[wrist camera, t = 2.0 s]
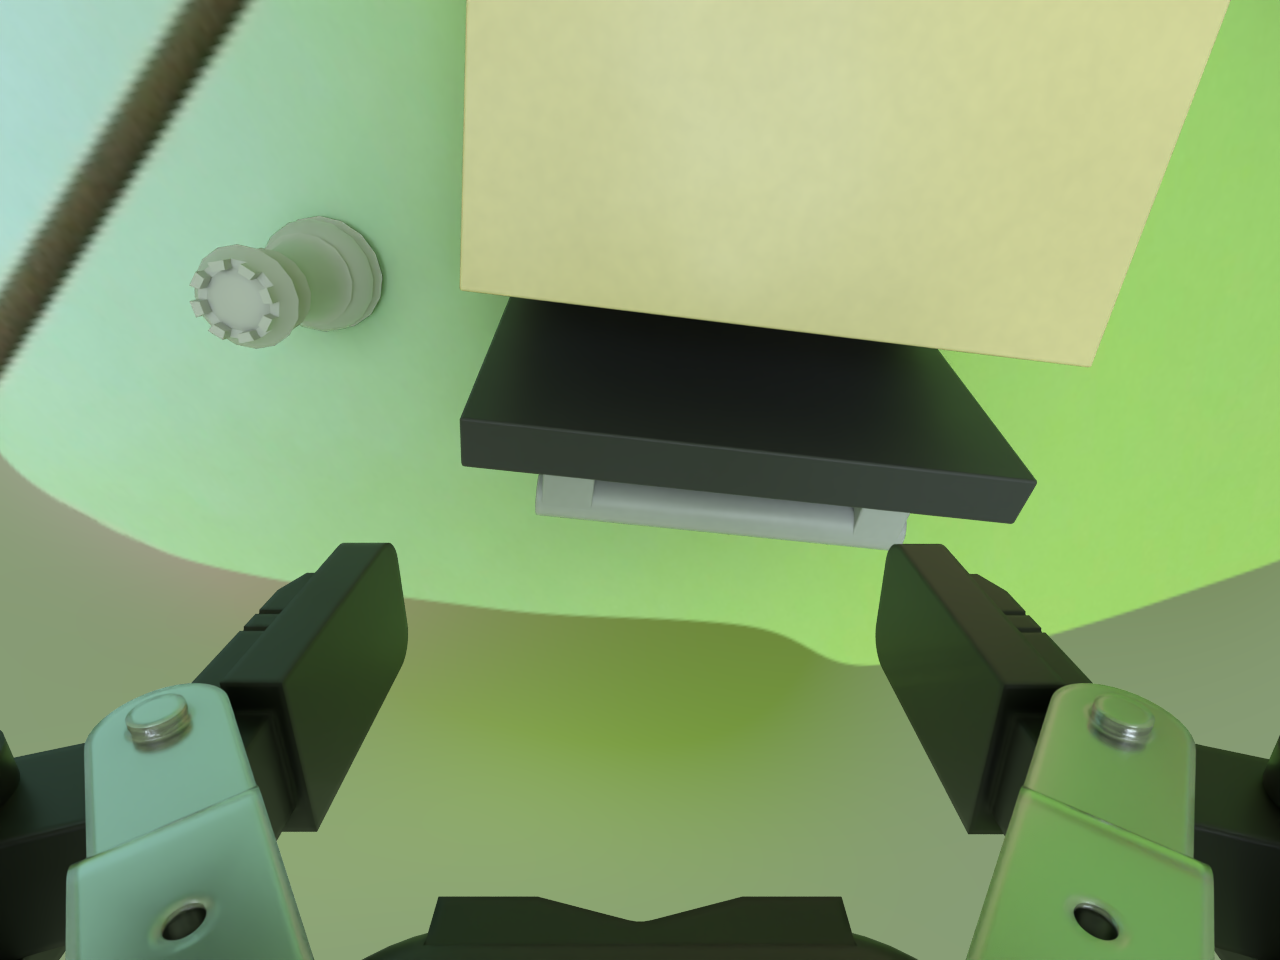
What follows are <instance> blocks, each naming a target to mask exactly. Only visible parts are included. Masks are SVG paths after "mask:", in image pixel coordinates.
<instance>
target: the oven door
mask: <svg viewBox="0 0 1280 960" xmlns="http://www.w3.org/2000/svg"><path fill="white" fill-rule="evenodd" d="M460 438H461V463H462V465H463V466H467V467H476V468H486V469H495V470H505V471H514V472H524V473H533V474H539V476H538V482H537V490H536V502H535V513H536V514H537V515H544V516H554V517H563V518H573V519H583V520H593V521H603V522H613V523H623V524H633V525H642V526H652V527H662V528H672V529H682V530H692V531H702V532H712V533H721V534H731V535H741V536H751V537H761V538H771V539H781V540H791V541H800V542H810V543H820V544H830V545H840V546H850V547H860V548H870V549H879V550H889V549H890V547H891V546H892V545H893V544H902V543H903V541H904V538H905V534H906V520H907V518H908V516H909V514H910V513H913V514H923V515H932V516H942V517H951V518H961V519H970V520H980V521H989V522H999V523H1008V524H1012V523H1014V522H1015V520H1016V518H1017V516H1018V515H1019V513H1020V511H1021V510H1022V508H1023V506H1024V505H1025V503H1026V501H1027V499H1028V498H1029V496H1030V494H1031V493H1032V491H1033V489H1034V488H1035V486H1036V484H1037V481H1036V479H1035V478H1034V477H1033V475H1032V474H1031V473H1030V471H1029V470H1028V469H1027V467H1026V466H1025V465H1024V463H1023V462H1022V461H1021V459H1020V458H1019V457H1018V455H1017V454H1016V453H1015V451H1014V450H1013V449H1012V447H1011V446H1010V445H1009V443H1008V442H1007V441H1006V439H1005V438H1004V437H1003V435H1002V434H1001V433H1000V431H999V430H998V429H997V427H996V426H995V425H994V423H993V422H992V421H991V419H990V418H989V417H988V415H987V414H986V413H985V411H984V410H983V409H982V407H981V406H980V405H979V403H978V402H977V401H976V400H975V398H974V397H973V396H972V394H971V393H970V392H969V390H968V389H967V388H966V386H965V385H964V384H963V382H962V381H961V380H960V378H959V377H958V376H957V374H956V373H955V372H954V370H953V369H952V368H951V366H950V365H949V364H948V362H947V361H946V360H945V358H944V357H943V356H942V354H941V353H940V352H939V350H938V349H935V348H926V347H918V346H910V345H902V344H894V343H886V342H877V341H869V340H861V339H853V338H845V337H837V336H828V335H820V334H812V333H804V332H796V331H788V330H779V329H771V328H763V327H755V326H747V325H739V324H730V323H722V322H714V321H706V320H698V319H690V318H681V317H673V316H665V315H657V314H649V313H640V312H632V311H624V310H616V309H608V308H600V307H591V306H583V305H575V304H567V303H559V302H551V301H542V300H534V299H526V298H518V297H510V298H509V301H508V303H507V306H506V308H505V310H504V313H503V315H502V318H501V320H500V323H499V325H498V328H497V330H496V332H495V335H494V337H493V340H492V342H491V345H490V347H489V349H488V352H487V354H486V357H485V359H484V362H483V364H482V367H481V369H480V371H479V374H478V376H477V379H476V381H475V384H474V386H473V389H472V391H471V393H470V396H469V398H468V401H467V403H466V406H465V408H464V410H463V413H462V415H461V418H460Z"/></svg>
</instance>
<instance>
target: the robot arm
mask: <svg viewBox="0 0 1280 960" xmlns="http://www.w3.org/2000/svg"><path fill="white" fill-rule="evenodd" d="M407 642H408V626H407V618H406V612H405V605H404V598H403V591H402V584H401V578H400V571H399V564H398V558H397V553H396V550H395V548H394V546H393V545H392V544H391V543H342V544H340V545H339V546H338V547H337V548H336V549H335V551H334V552H333V553H332V554H331V555H330V556H329V557H328V559H327V560H326V561H325V562H324V563H323V564H322V565H321V567H320V568H319V569H318V570H317V571H316V572H315V573H306V574H304V575H303V576H301V577H299V578H297V579H296V580H294V581H292V582H291V583H289V584H287V585H286V586H284V587H282V588H280V589H279V590H277V592H276V593H275V594H274V595H273V596H272V597H271V598H270V599H269V600H268V601H267V602H266V603H265V604H264V606H263V607H262V608H261V609H260V610H259V614H255V615H254V616H253V617H252V618H251V619H250V621H249V622H248V623H247V624H246V625H245V626H244V631H239V632H238V633H237V635H236V636H235V637H234V638H233V639H232V640H231V641H230V642H229V643H228V644H227V645H226V646H225V648H224V649H223V650H222V651H221V652H220V653H219V654H218V655H217V656H216V657H215V658H214V659H213V660H212V661H211V663H210V664H209V665H208V666H207V667H206V668H205V669H204V670H203V671H202V672H201V673H200V674H199V675H198V677H197V678H196V679H195V680H194V681H193V682H192V683H188V684H180V685H174V686H170V687H165V688H162V689H159V690H155V691H152V692H150V693H147V694H145V695H142V696H140V697H138V698H135V699H133V700H131V701H129V702H127V703H126V704H124V705H122V706H120V707H119V708H117V709H116V710H114V711H113V712H111V713H110V714H109V715H107V716H106V717H105V718H104V719H102V720H101V721H100V722H99V723H98V724H97V725H96V726H95V727H94V729H93V730H92V731H91V733H90V734H89V735H88V738H87V740H86V742H85V743H82V744H78V745H73V746H68V747H63V748H58V749H54V750H49V751H44V752H39V753H34V754H30V755H25V756H20V757H15V758H14V757H13V755H12V753H11V751H10V748H9V746H8V744H7V742H6V739H5V737H4V734H3V732H2V731H1V730H0V960H59V959H60V958H61V956H62V955H63V954H64V952H65V951H66V960H314V958H313V954H312V951H311V948H310V945H309V942H308V939H307V936H306V933H305V930H304V926H303V923H302V920H301V917H300V914H299V911H298V908H297V904H296V901H295V898H294V895H293V892H292V889H291V886H290V882H289V879H288V876H287V873H286V870H285V867H284V864H283V861H282V857H281V854H280V851H279V848H278V845H277V842H276V841H277V839H278V837H279V836H280V834H281V832H317V831H318V829H319V827H320V825H321V823H322V821H323V819H324V817H325V815H326V813H327V811H328V809H329V807H330V805H331V803H332V801H333V799H334V797H335V795H336V794H337V792H338V790H339V788H340V786H341V784H342V782H343V780H344V778H345V776H346V774H347V772H348V770H349V768H350V766H351V764H352V762H353V760H354V758H355V756H356V754H357V752H358V751H359V748H360V747H361V745H362V743H363V741H364V739H365V737H366V735H367V733H368V731H369V729H370V727H371V725H372V723H373V721H374V719H375V717H376V715H377V713H378V711H379V709H380V708H381V706H382V704H383V702H384V700H385V698H386V696H387V694H388V692H389V690H390V688H391V686H392V684H393V682H394V680H395V678H396V676H397V674H398V672H399V670H400V668H401V666H402V664H403V662H404V659H405V655H406V650H407ZM876 648H877V654H878V658H879V661H880V664H881V666H882V669H883V670H884V672H885V674H886V676H887V678H888V680H889V682H890V684H891V686H892V688H893V690H894V692H895V694H896V695H897V698H898V699H899V701H900V703H901V705H902V707H903V709H904V711H905V713H906V715H907V717H908V719H909V721H910V723H911V725H912V726H913V728H914V730H915V732H916V734H917V736H918V738H919V740H920V742H921V744H922V746H923V748H924V750H925V752H926V753H927V755H928V757H929V759H930V761H931V763H932V765H933V767H934V769H935V771H936V773H937V775H938V777H939V779H940V781H941V782H942V784H943V786H944V788H945V790H946V792H947V794H948V796H949V798H950V800H951V802H952V804H953V806H954V808H955V809H956V811H957V813H958V815H959V817H960V819H961V821H962V823H963V825H964V827H965V829H966V831H967V833H968V834H1004V835H1005V839H1004V842H1003V845H1002V848H1001V851H1000V854H999V857H998V861H997V864H996V867H995V870H994V873H993V876H992V879H991V882H990V886H989V889H988V892H987V895H986V898H985V901H984V904H983V908H982V911H981V914H980V917H979V920H978V923H977V926H976V929H975V933H974V936H973V939H972V942H971V945H970V948H969V952H968V954H967V958H966V960H1214V951H1215V952H1216V954H1217V955H1218V956H1219V958H1220V959H1221V960H1280V736H1279V739H1278V741H1277V743H1276V745H1275V748H1274V750H1273V752H1272V755H1271V757H1270V759H1264V758H1260V757H1255V756H1250V755H1245V754H1241V753H1236V752H1231V751H1226V750H1221V749H1217V748H1212V747H1207V746H1202V745H1198V744H1195V742H1194V740H1193V738H1192V736H1191V734H1190V733H1189V731H1188V730H1187V729H1186V727H1185V726H1184V725H1183V724H1182V723H1181V722H1180V721H1179V720H1178V719H1176V718H1175V717H1174V716H1173V715H1171V714H1170V713H1169V712H1167V711H1166V710H1164V709H1163V708H1161V707H1160V706H1158V705H1156V704H1154V703H1153V702H1151V701H1149V700H1147V699H1145V698H1142V697H1140V696H1138V695H1136V694H1133V693H1130V692H1128V691H1125V690H1121V689H1118V688H1115V687H1110V686H1105V685H1100V684H1093V683H1092V682H1091V681H1090V680H1089V679H1088V678H1087V677H1086V675H1085V674H1084V673H1083V672H1082V671H1081V670H1080V669H1079V668H1078V667H1077V666H1076V665H1075V664H1074V663H1073V662H1072V661H1071V659H1070V658H1069V657H1068V656H1067V655H1066V654H1065V653H1064V652H1063V651H1062V650H1061V649H1060V648H1059V647H1058V646H1057V645H1056V643H1055V642H1054V641H1053V640H1052V639H1051V638H1050V637H1049V636H1048V635H1047V634H1046V633H1042V632H1041V627H1040V626H1039V625H1038V624H1037V623H1036V622H1035V621H1034V620H1033V619H1032V618H1031V617H1030V616H1029V615H1026V614H1025V610H1024V609H1023V608H1022V607H1021V606H1020V605H1019V604H1018V603H1017V602H1016V601H1015V600H1014V599H1013V598H1012V597H1011V595H1010V594H1009V593H1008V592H1007V591H1005V590H1004V589H1002V588H1000V587H998V586H997V585H995V584H993V583H992V582H990V581H988V580H987V579H985V578H983V577H981V576H980V575H978V574H969V573H968V572H967V571H966V570H965V569H964V567H963V566H962V565H961V564H960V563H959V562H958V561H957V559H956V558H955V557H954V556H953V555H952V554H951V553H950V551H949V550H948V549H947V548H946V547H945V546H944V545H942V544H893V545H892V546H891V547H890V549H889V551H888V554H887V557H886V563H885V570H884V577H883V583H882V590H881V596H880V603H879V610H878V616H877V623H876ZM363 960H917V959H916V958H914V957H912V956H910V955H908V954H906V953H904V952H902V951H900V950H897V949H895V948H893V947H891V946H889V945H886V944H884V943H881V942H878V941H876V940H873V939H870V938H868V937H865V936H861V935H857V934H854V933H852V932H851V928H850V925H849V921H848V918H847V914H846V911H845V907H844V904H843V900H842V897H740V898H735V899H732V900H728V901H724V902H720V903H716V904H712V905H708V906H705V907H701V908H697V909H693V910H689V911H685V912H681V913H678V914H674V915H670V916H666V917H662V918H658V919H654V920H650V921H645V922H636V921H630V920H625V919H622V918H618V917H614V916H610V915H606V914H602V913H598V912H595V911H591V910H587V909H583V908H579V907H575V906H572V905H568V904H564V903H560V902H556V901H552V900H548V899H545V898H540V897H438V901H437V904H436V907H435V911H434V914H433V918H432V921H431V925H430V928H429V932H428V933H426V934H423V935H419V936H415V937H412V938H410V939H407V940H404V941H402V942H399V943H396V944H394V945H391V946H389V947H387V948H385V949H382V950H380V951H378V952H376V953H374V954H372V955H370V956H368V957H366V958H364V959H363Z"/></svg>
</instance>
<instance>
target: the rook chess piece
mask: <svg viewBox="0 0 1280 960" xmlns="http://www.w3.org/2000/svg"><path fill="white" fill-rule="evenodd" d="M190 286H192V287H194V288H195V298H196V300H193V301H190V304H191V306H192V308H193V311H194V313H195V316H196V317H199V316H202V315H203V317H204V318H205V319H206V320H207V321H208V323H209V324H210V325H211V328H210V329H209V330H208V331H209V332H211V333H212V334H214V335H216V336H217V337H219V338H221V339H222V340H224V339H228V340H230V341H231V342H233V343H235V344H237V345H241V346H246V347H251V348H255V349H257V348H263V347H269V346H275V345H276V344H278V343H279V342H281V341H282V340H283V339H285V338H286V337H288V336H289V335H290V333H291V331H292V330H293V329H294V328H295V327H297V326H298V325H300V326H303V327H307V328H312V329H316V330H321V331H326V332H327V331H332V330H338V329H344V328H347V327H350V326H355V325H356V324H358V323H359V322H361V321H362V320H364V319H365V318H367V317H368V316H369V315H371V313H372V311H373V310H374V308H375V306H376V304H377V303H378V301H379V299H380V297H381V286H382V273H381V270H380V267H379V263H378V260H377V257H376V254H375V252H374V251H373V250H372V248H371V247H370V246H369V244H368V243H367V242H366V240H365V239H364V238H363V236H362V235H361V234H360V233H358V232H357V231H355V230H354V229H352V228H351V227H349V226H348V225H346V224H345V223H343V222H342V221H338V220H334V219H330V218H326V217H322V216H316V217H310V218H305V219H299V220H297V221H295V222H289V223H288V224H286V225H285V226H284V227H282V228H281V229H280V230H278V231H277V232H276V233H274V234H273V235H272V236H271V237H270V239H269V241H268V243H267V245H266V247H265V249H264V248H259V249H255V248H251V247H247V246H242V245H238V244H236V245H230V246H225V247H219V248H217V249H215V250H214V251H213V252H211V253H210V254H209V255H207V256H206V257H205V258H203V259H202V261H201V264H200V266H199V268H198V270H197V272H195V274H194V276H193V278H192V281H191V283H190Z"/></svg>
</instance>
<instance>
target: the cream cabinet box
mask: <svg viewBox="0 0 1280 960" xmlns="http://www.w3.org/2000/svg"><path fill="white" fill-rule="evenodd" d="M1230 1H1231V0H466V36H465V80H464V123H463V167H462V210H461V254H460V290H462V291H469V292H477V293H485V294H493V295H502V296H510V297H518V298H526V299H534V300H542V301H551V302H559V303H567V304H575V305H583V306H591V307H600V308H608V309H616V310H624V311H632V312H640V313H649V314H657V315H665V316H673V317H681V318H690V319H698V320H706V321H714V322H722V323H730V324H739V325H747V326H755V327H763V328H771V329H779V330H788V331H796V332H804V333H812V334H820V335H828V336H837V337H845V338H853V339H861V340H869V341H877V342H886V343H894V344H902V345H910V346H918V347H926V348H935V349H943V350H951V351H959V352H967V353H975V354H984V355H992V356H1000V357H1008V358H1016V359H1024V360H1033V361H1041V362H1049V363H1057V364H1065V365H1073V366H1082V367H1091V365H1092V363H1093V360H1094V357H1095V355H1096V352H1097V350H1098V347H1099V344H1100V342H1101V339H1102V336H1103V334H1104V331H1105V329H1106V326H1107V323H1108V321H1109V318H1110V315H1111V313H1112V310H1113V308H1114V305H1115V302H1116V300H1117V297H1118V294H1119V292H1120V289H1121V287H1122V284H1123V281H1124V279H1125V276H1126V273H1127V271H1128V268H1129V266H1130V263H1131V260H1132V258H1133V255H1134V252H1135V250H1136V247H1137V245H1138V242H1139V239H1140V237H1141V234H1142V231H1143V229H1144V226H1145V224H1146V221H1147V218H1148V216H1149V213H1150V211H1151V208H1152V205H1153V203H1154V200H1155V197H1156V195H1157V192H1158V190H1159V187H1160V184H1161V182H1162V179H1163V176H1164V174H1165V171H1166V169H1167V166H1168V163H1169V161H1170V158H1171V155H1172V153H1173V150H1174V148H1175V145H1176V142H1177V140H1178V137H1179V134H1180V132H1181V129H1182V127H1183V124H1184V121H1185V119H1186V116H1187V113H1188V111H1189V108H1190V106H1191V103H1192V100H1193V98H1194V95H1195V92H1196V90H1197V87H1198V85H1199V82H1200V79H1201V77H1202V74H1203V72H1204V69H1205V66H1206V64H1207V61H1208V58H1209V56H1210V53H1211V51H1212V48H1213V45H1214V43H1215V40H1216V37H1217V35H1218V32H1219V30H1220V27H1221V24H1222V22H1223V19H1224V16H1225V14H1226V11H1227V9H1228V6H1229V3H1230Z"/></svg>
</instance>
